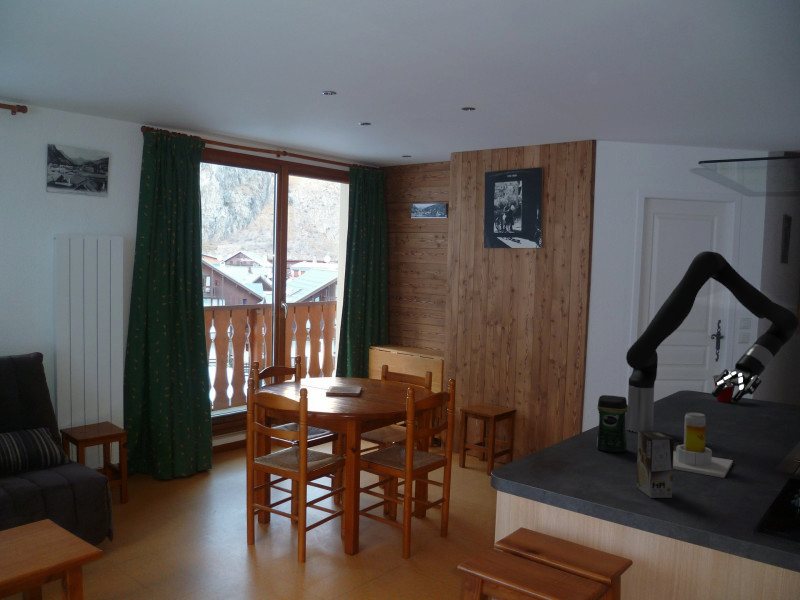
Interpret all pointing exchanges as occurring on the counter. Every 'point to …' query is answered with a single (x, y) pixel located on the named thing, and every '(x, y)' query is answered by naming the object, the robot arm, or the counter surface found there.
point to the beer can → (694, 432)
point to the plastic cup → (725, 392)
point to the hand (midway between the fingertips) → (723, 398)
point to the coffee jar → (612, 423)
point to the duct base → (706, 470)
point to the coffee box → (655, 464)
